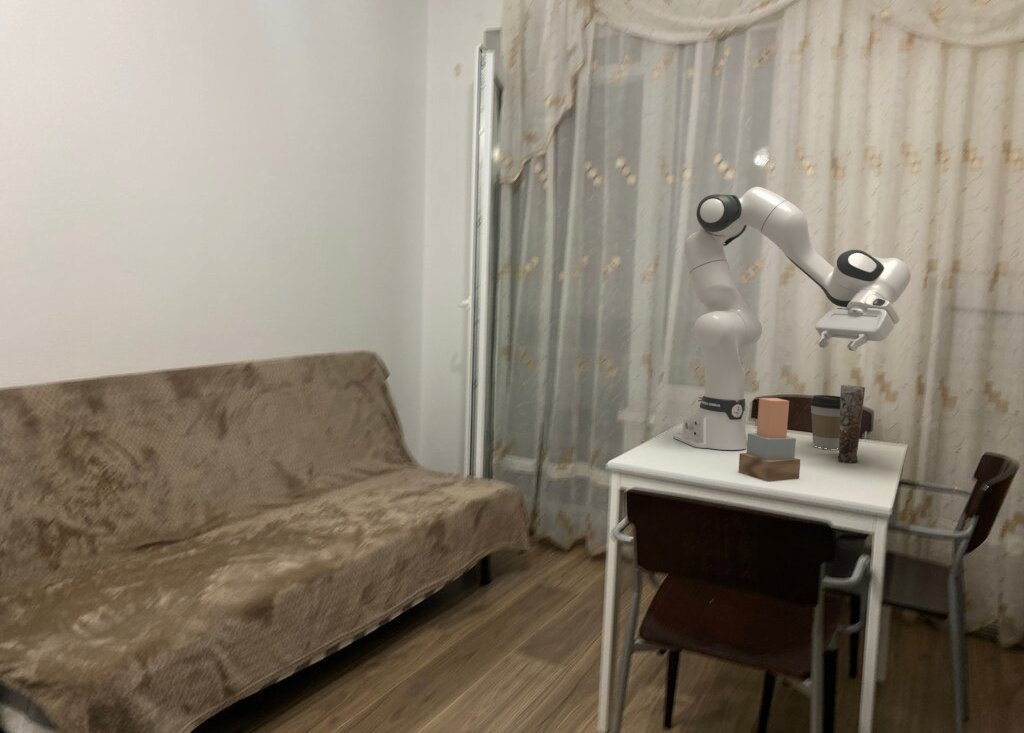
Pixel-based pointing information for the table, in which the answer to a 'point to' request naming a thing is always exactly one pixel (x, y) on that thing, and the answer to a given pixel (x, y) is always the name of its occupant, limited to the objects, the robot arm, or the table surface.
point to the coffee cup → (825, 421)
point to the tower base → (769, 468)
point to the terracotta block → (772, 417)
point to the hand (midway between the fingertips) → (835, 347)
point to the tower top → (771, 447)
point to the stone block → (850, 421)
